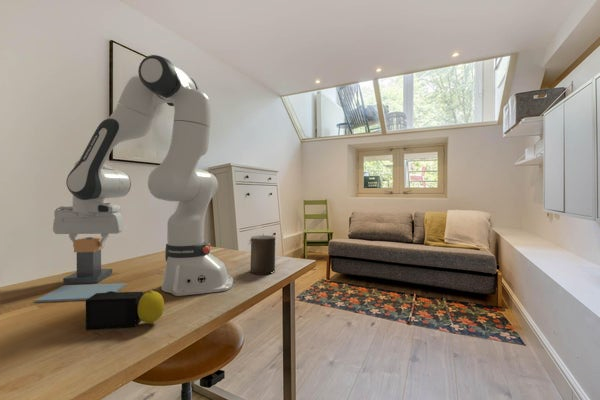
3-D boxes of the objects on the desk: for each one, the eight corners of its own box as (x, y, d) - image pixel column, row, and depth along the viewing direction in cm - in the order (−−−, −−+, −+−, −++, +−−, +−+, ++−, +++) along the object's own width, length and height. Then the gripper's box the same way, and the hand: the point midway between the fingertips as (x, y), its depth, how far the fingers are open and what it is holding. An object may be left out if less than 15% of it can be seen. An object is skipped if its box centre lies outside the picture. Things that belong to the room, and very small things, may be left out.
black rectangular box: (145, 316, 68) (145, 289, 68) (136, 327, 63) (136, 297, 62) (99, 319, 66) (99, 290, 66) (85, 330, 61) (85, 299, 61)
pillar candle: (273, 275, 104) (274, 235, 103) (247, 274, 104) (248, 235, 104) (275, 268, 113) (276, 232, 113) (252, 267, 114) (253, 231, 113)
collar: (103, 248, 98) (103, 237, 98) (94, 252, 92) (94, 240, 92) (84, 248, 97) (84, 237, 97) (74, 252, 91) (73, 240, 91)
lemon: (152, 331, 61) (152, 295, 61) (131, 328, 62) (131, 293, 62) (169, 319, 66) (169, 287, 66) (149, 317, 68) (149, 285, 67)
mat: (126, 284, 90) (126, 283, 90) (107, 299, 78) (107, 297, 78) (64, 287, 86) (64, 285, 86) (34, 302, 75) (34, 300, 75)
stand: (112, 274, 101) (112, 235, 100) (97, 283, 91) (97, 239, 90) (81, 275, 99) (81, 235, 98) (63, 284, 89) (63, 240, 89)
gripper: (47, 206, 89) (48, 248, 90) (117, 207, 93) (117, 247, 93) (60, 205, 95) (61, 245, 96) (125, 206, 99) (125, 244, 99)
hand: (89, 246), depth 95 cm, fingers closed on collar, 6 cm apart
